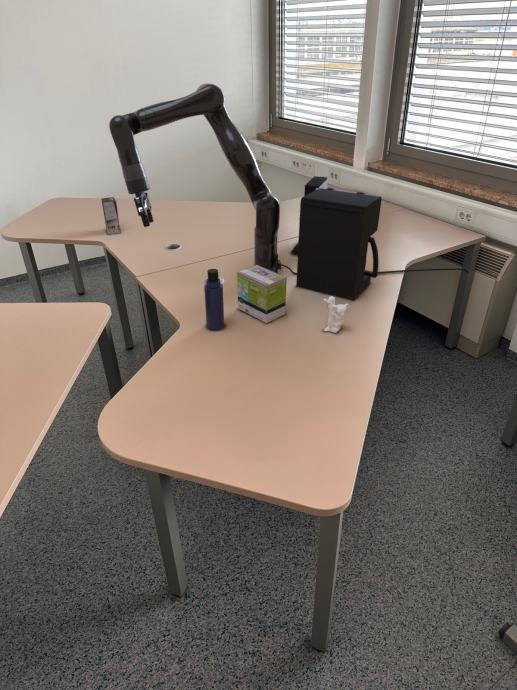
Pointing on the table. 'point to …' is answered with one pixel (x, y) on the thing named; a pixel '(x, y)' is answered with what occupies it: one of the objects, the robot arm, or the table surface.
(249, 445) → the table surface
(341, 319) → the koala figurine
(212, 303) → the water bottle
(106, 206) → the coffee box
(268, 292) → the tea box
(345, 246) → the coffee maker
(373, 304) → the table surface
